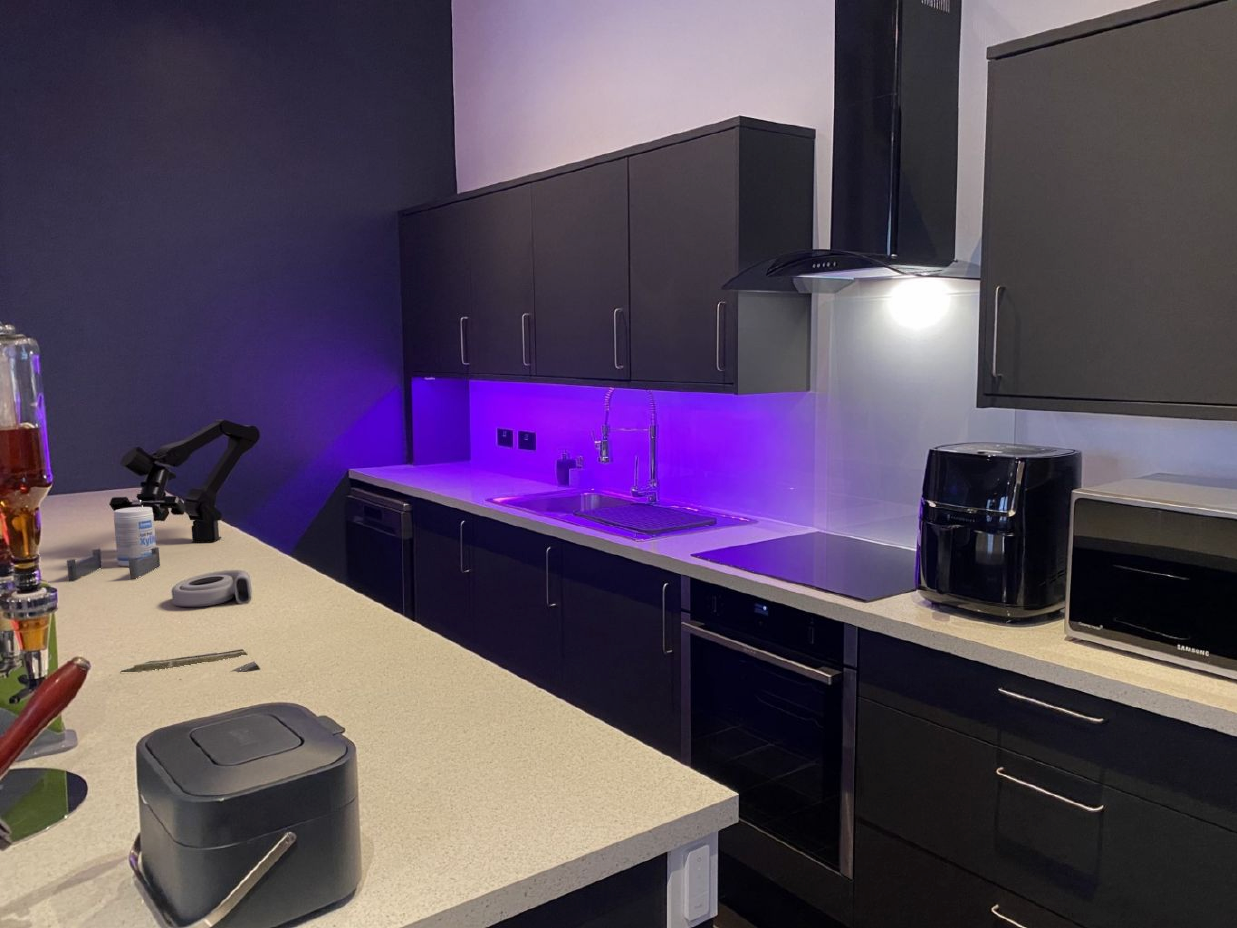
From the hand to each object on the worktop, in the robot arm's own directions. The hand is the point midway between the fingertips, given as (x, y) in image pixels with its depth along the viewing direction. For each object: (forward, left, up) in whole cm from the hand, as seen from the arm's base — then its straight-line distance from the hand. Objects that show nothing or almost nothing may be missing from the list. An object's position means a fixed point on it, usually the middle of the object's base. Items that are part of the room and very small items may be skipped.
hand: (139, 531), depth 268 cm
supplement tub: (-1, +5, -8) cm, 9 cm away
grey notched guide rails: (-1, +17, -8) cm, 19 cm away
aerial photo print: (-52, +97, -8) cm, 110 cm away
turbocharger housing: (-37, +46, -8) cm, 59 cm away
